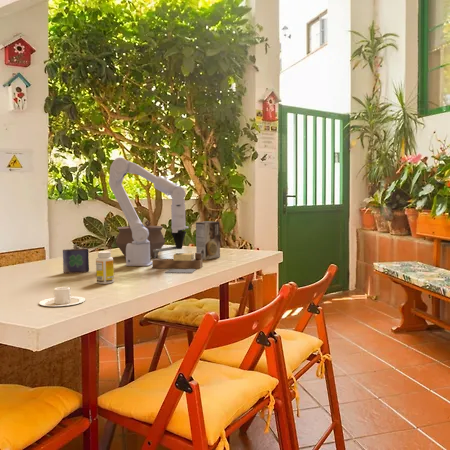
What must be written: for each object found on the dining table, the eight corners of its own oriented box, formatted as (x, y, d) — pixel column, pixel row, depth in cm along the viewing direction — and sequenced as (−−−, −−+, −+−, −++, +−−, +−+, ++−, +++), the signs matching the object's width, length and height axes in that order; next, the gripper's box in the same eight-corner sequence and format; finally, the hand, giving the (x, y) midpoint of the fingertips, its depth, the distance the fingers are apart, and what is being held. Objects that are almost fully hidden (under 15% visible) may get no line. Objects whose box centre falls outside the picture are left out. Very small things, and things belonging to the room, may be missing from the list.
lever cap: (173, 260, 192) (173, 254, 192) (176, 258, 197) (176, 253, 197) (191, 260, 192) (191, 254, 191) (193, 258, 196) (193, 253, 196)
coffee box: (210, 256, 227) (210, 221, 226) (220, 257, 223) (220, 221, 222) (195, 258, 221) (195, 222, 220) (205, 259, 216) (205, 222, 215)
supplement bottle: (115, 281, 167) (114, 250, 166) (112, 284, 161) (111, 252, 160) (98, 281, 166) (97, 251, 165) (95, 284, 161) (94, 253, 160)
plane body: (152, 267, 194) (152, 253, 194) (155, 266, 198) (155, 252, 198) (200, 268, 192) (200, 253, 191) (202, 266, 196) (202, 252, 196)
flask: (63, 273, 183) (62, 244, 182) (63, 272, 186) (62, 244, 185) (89, 272, 186) (88, 243, 185) (88, 271, 189) (88, 243, 188)
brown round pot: (157, 260, 215) (156, 223, 214) (105, 260, 219) (104, 223, 218) (173, 253, 239) (172, 219, 237) (125, 253, 243) (124, 219, 242)
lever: (156, 258, 194) (156, 249, 194) (152, 258, 196) (151, 249, 195) (181, 254, 207) (181, 246, 207) (176, 254, 208) (176, 245, 208)
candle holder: (34, 302, 137) (34, 287, 137) (78, 297, 143) (78, 282, 143) (44, 311, 127) (43, 294, 127) (91, 305, 133) (90, 289, 133)
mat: (165, 273, 181) (165, 272, 181) (170, 269, 189) (170, 268, 189) (191, 273, 180) (191, 272, 180) (196, 269, 188) (196, 269, 188)
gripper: (184, 216, 196) (184, 251, 197) (191, 214, 210) (192, 246, 211) (166, 216, 197) (167, 250, 198) (175, 215, 211) (175, 246, 212)
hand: (179, 248), depth 204 cm, fingers closed
